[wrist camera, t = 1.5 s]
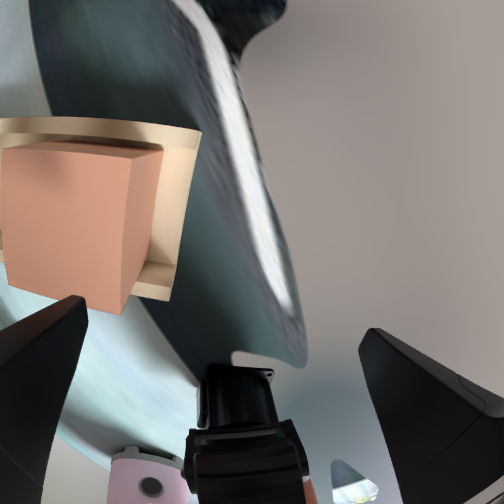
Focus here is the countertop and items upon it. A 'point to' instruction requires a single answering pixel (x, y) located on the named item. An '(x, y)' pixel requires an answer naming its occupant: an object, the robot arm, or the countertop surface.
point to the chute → (169, 185)
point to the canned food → (310, 493)
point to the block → (78, 218)
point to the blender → (145, 479)
